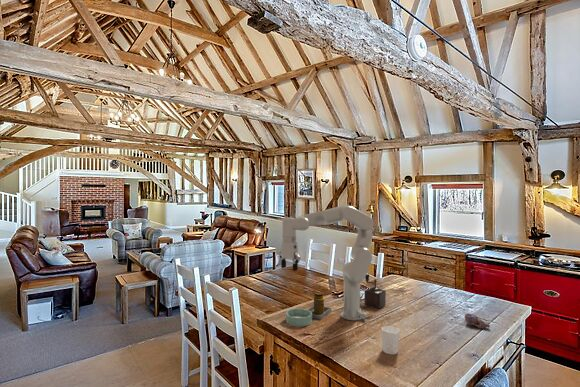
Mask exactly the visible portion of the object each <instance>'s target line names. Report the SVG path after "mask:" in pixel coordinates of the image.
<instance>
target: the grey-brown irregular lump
mask: <svg viewBox="0 0 580 387" xmlns="http://www.w3.org/2000/svg"><path fill="white" fill-rule="evenodd" d="M464 321H465V323H466V324H467V325H470V326H471V325H473V326H475V327H477V328H478V329H486V330H487V329H489V328H490V324H489V323H487V322H485V321H483V320H482V319H481V318H480V317H478V316H477V315H475V314H472V313H469V312H467V313H465V314H464Z"/></svg>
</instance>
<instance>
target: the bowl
mask: <svg viewBox="0 0 580 387" xmlns="http://www.w3.org/2000/svg"><path fill="white" fill-rule="evenodd" d="M307 309H308V308H306V309H305V308H300V307H299V308H290V309H288V310H287V311H286V312H285V322H286V324H288V325H289V326H293V327H308V326H310V325H312V323H313V318H312V311H309V310H307Z"/></svg>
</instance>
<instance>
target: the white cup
mask: <svg viewBox="0 0 580 387" xmlns="http://www.w3.org/2000/svg"><path fill="white" fill-rule="evenodd" d="M381 344H382V351H383V353H385V354H386V355H396V354H398V353H399V344H400V329H399V328H397V327H396V326H393V325H384V326H381Z"/></svg>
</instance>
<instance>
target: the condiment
mask: <svg viewBox="0 0 580 387" xmlns="http://www.w3.org/2000/svg"><path fill="white" fill-rule="evenodd" d="M313 305H314V309H313V310H312V311H311V312H312V314H315V315H322V314H323V313H324V312H325V310H324V307H325V298H324V293H323V292H319V291H318V292H317V291H316V292H315V293H314V297H313Z"/></svg>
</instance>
